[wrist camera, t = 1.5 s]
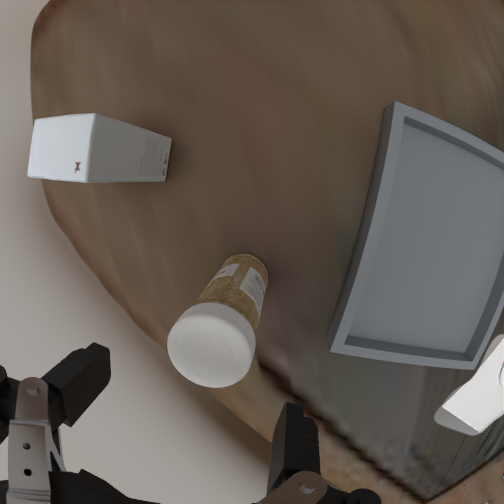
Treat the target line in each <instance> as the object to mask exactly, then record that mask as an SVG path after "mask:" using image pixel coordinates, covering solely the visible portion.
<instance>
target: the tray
mask: <svg viewBox="0 0 504 504" xmlns="http://www.w3.org/2000/svg"><path fill="white" fill-rule="evenodd" d="M503 306H504V153H503V152H501V151H500V150H498V149H496V148H495V147H493V146H491V145H489V144H488V143H486V142H484V141H482V140H480V139H479V138H477V137H475V136H473V135H471V134H469V133H467V132H465V131H463V130H461V129H459V128H457V127H455V126H453V125H451V124H449V123H447V122H445V121H443V120H440V119H438V118H436V117H434V116H431V115H429V114H427V113H424V112H422V111H420V110H417V109H415V108H412V107H410V106H407V105H405V104H402V103H399V102H397V101H394V102H393V103H392V104H390V105H389V106H388V107H387V108H385V109H384V114H383V121H382V127H381V133H380V138H379V144H378V149H377V154H376V159H375V164H374V169H373V174H372V179H371V183H370V188H369V192H368V197H367V201H366V205H365V209H364V213H363V217H362V221H361V225H360V229H359V233H358V236H357V240H356V244H355V247H354V251H353V255H352V258H351V261H350V265H349V268H348V272H347V275H346V278H345V281H344V285H343V288H342V291H341V294H340V297H339V300H338V303H337V306H336V309H335V312H334V315H333V318H332V321H331V324H330V327H329V330H328V332H327V335H326V337H327V341H328V346H329V351H330V352H334V353H340V354H346V355H351V356H357V357H364V358H370V359H377V360H384V361H391V362H398V363H406V364H414V365H423V366H433V367H443V368H455V369H468V370H474V369H475V367H476V365H477V363H478V361H479V359H480V357H481V356H482V354H483V352H484V350H485V348H486V345H487V343H488V341H489V339H490V337H491V335H492V333H493V330H494V328H495V326H496V324H497V321H498V319H499V316H500V314H501V311H502V309H503Z"/></svg>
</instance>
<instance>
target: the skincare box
mask: <svg viewBox="0 0 504 504" xmlns="http://www.w3.org/2000/svg"><path fill="white" fill-rule="evenodd" d="M171 142H172V139H171V138H169V137H166V136H163V135H161V134H158V133H155V132H152V131H149V130H146V129H144V128H141V127H137V126H134V125H131V124H128V123H125V122H122V121H119V120H116V119H113V118H110V117H106V116H103V115H99V114H96V113H89V114H72V115H64V116H57V117H49V118H41V119H36V120H35V125H34V130H33V136H32V143H31V150H30V158H29V166H28V173H27V175H28V177H33V178H44V179H50V180H61V181H72V182H84V183H103V182H165V180H166V174H167V167H168V160H169V154H170V148H171Z"/></svg>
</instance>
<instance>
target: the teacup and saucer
mask: <svg viewBox="0 0 504 504" xmlns="http://www.w3.org/2000/svg"><path fill="white" fill-rule="evenodd" d="M499 383H500V385H501V386H502V387H503V388H504V366H503V367H502V369H501V372H500V375H499Z"/></svg>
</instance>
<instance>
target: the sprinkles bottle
mask: <svg viewBox="0 0 504 504" xmlns="http://www.w3.org/2000/svg"><path fill="white" fill-rule="evenodd" d="M267 285H268V272H267V269H266V267H265V266H264V264H263V263H262V262H261V261H260V260H259V259H258V258H256V257H254V256H252V255H250V254H237V255H233V256H231V257H230V258H228V259H227V260H226V261H225V262H224V263H223V265H222V266H221V269H220V270H219V271H218V272H217V273H216V275H215V276H214V278H213V279H212V280H211V282H210V283H209V284H208V286H207V287H206V288H205V290H204V291H203V292H202V294H201V295H200V297H199V299H198V300H197V302H196V303H195V304H194V306H192V307H190V308H189V309H187V310H186V311H185V312H184V313H183V314H182V315H181V316H180V318H179V319H178V320H177V322H176V323H175V325H174V326H173V328H172V329H171V331H170V333H169V336H168V340H167V349H168V354H169V357H170V359H171V361H172V363H173V365H174V366H175V368H176V369H177V370H178V371H179V372H180V373H181V374H182V375H183V376H184V377H186V378H187V379H189V380H190V381H192V382H194V383H196V384H199V385H202V386H206V387H213V388H220V387H226V386H230V385H232V384H235V383H236V382H238V381H239V380H241V379H242V378H243V377H244V376H245V375H246V373H247V372H248V370H249V368H250V366H251V363H252V359H253V355H254V351H255V345H256V342H255V332H256V329H257V327H258V324H259V319H260V315H261V310H262V305H263V300H264V295H265V290H266V288H267Z"/></svg>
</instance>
